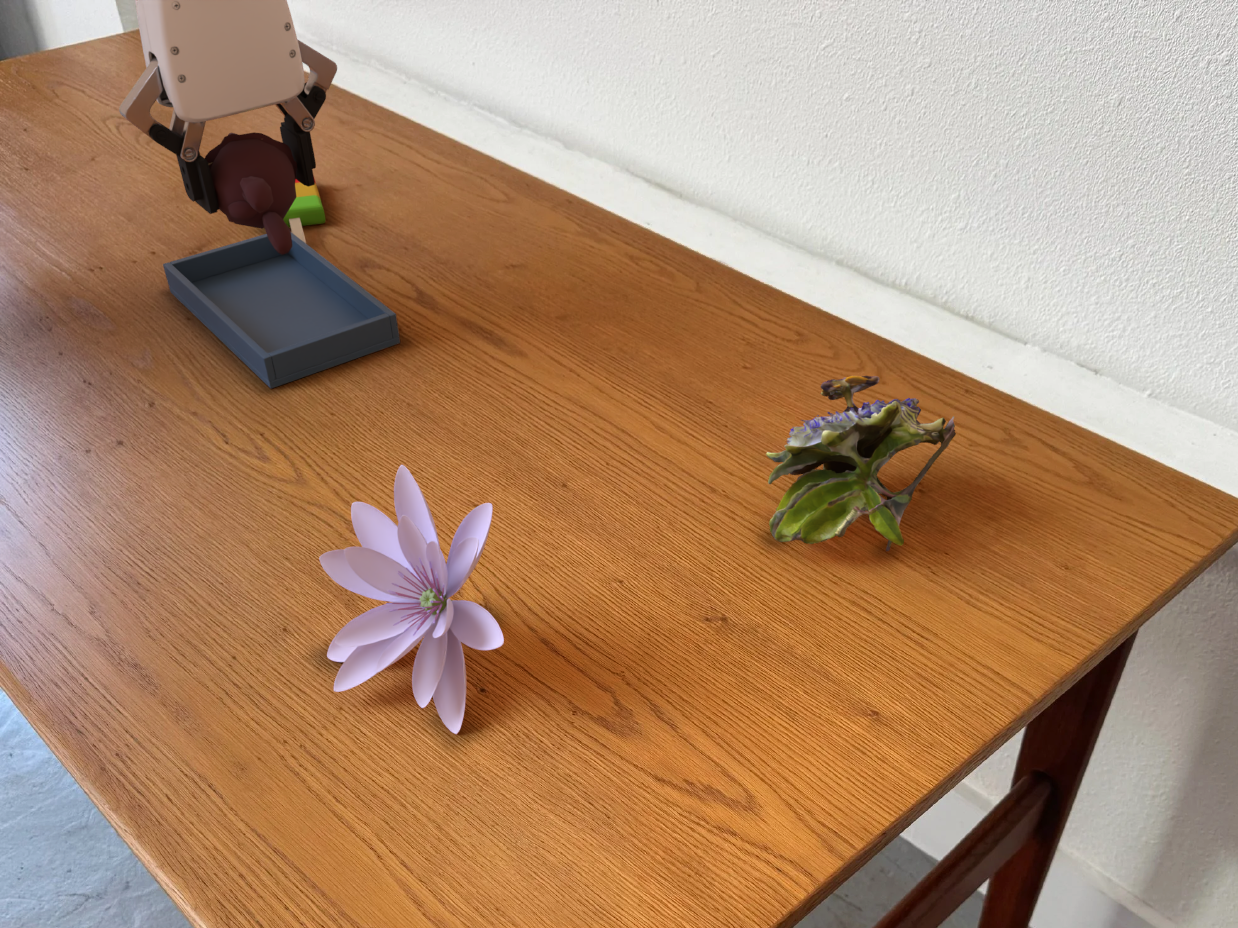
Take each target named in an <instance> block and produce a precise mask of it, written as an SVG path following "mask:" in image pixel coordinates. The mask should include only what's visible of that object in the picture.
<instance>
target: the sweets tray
mask: <svg viewBox="0 0 1238 928" xmlns="http://www.w3.org/2000/svg"><path fill="white" fill-rule="evenodd" d="M291 238H292V248H291V249H290V251H289V252H288V253H286V254H284V255H282V254H280V253H278V252H277V251H276V250H275V248H274V247H273V245H272V244H271V242H270V241H269V239H268V236H267V233H263V234H261V235H257V236H254V237H250V238H248V239H244V240H240V241H237V242H234V243H230V244H227V245H224V246H220V247H216V248H213V249H209V250H206V251H202V252H198V253H196V254H192V255H188V256H185V257H182V258H179V259H175V260H171V261H169V262H165V263H163V264H162V267H163V270H164V274H165V278H166V281H167V286H168V289H169V291H170V293H171V294H172V295H173V296H174V297H175V298H176V299H177V300H178V301H179V302H180V303H181V304H182V305H183V306H184V307H185V309H187V310H188V311H189V312H191V313H192V314H193V316H194V317H196V319H198V320H199V321H200V322H201V323H202V324H203V325H204V326H205V327H206V328H207V329H208V330H209V331H210V332H211V333H212V334H213V335H214V336H215V337H216V338H218V340H219V341H221V343H223V344H224V345H225V346H226V347H227V348H228V350H230V351H231V352H232V353H233V354H234V355H235V356H236V357H237V358H238V359H239V360H240V361H241V362H242V363H243V364H244V365H246V366H247V368H249V370H251V371H252V372H253V373H254V374H255V375H256V376H257V378H259V379H260V380H261V381H262V382H263V383H264V384H265V385H266V386H267V387H268V388H269V389H275V388H277V387H280V386H283V385H286V384H289V383H291V382H294V381H297V380H299V379H303V378H305V377H309V376H311V375H314V374H317V373H319V372H322V371H325V370H328V369H332V368H333V367H336V366H339V365H343V364H345V363H347V362H351V361H354V360H356V359H359V358H362V357H364V356H368V355H370V354H373V353H377V352H380V351H382V350H385V349H387V348H390V347H393V346H396V345H398V344H400V343H401V339H400V333H399V332H400V331H399V327H398V326H399V325H398V319H397V313H395V311H393V310H391V308H390V307H388V306H387V305H385V304H384V303H383V302H382V301H381V300H379V299H378V298H376V296H374V295H373V294H371V293H370V292H368V291H367V290H366V289H365V288H363V287H362V286H361V285H359V284H358V283H357V282H356V281H355V280H353V279H352V278H351V277H350V276H348V275H347V274H346V273H344V272H343V271H341V269H339V268H338V267H337V266H335V265H334V264H333V263H332V262H331V261H329V260H328V259H326V257H324V256H322V255H321V254H320V253H319V252H317V250H315V249H313V248H312V247H311V246H310V245H309V244H308V243H307V242H306V243H305V242H303V241H302V240H301V239H299V238H298V237H297V236H296V235H294V234H293V233H292V231H291Z"/></svg>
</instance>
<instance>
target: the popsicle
mask: <svg viewBox="0 0 1238 928" xmlns="http://www.w3.org/2000/svg"><path fill="white" fill-rule="evenodd" d="M314 181H315V184H314V185H312V186H306V185H303V184H302V183H301V182H299V181H298V180H296V179H295V188H296V199H295V200H294V202H293V204H292V205H291V207H290V209H289V210H288V212H287V214H286V215H285V217H284V219H283V220H284V222H285V223H286V224H287V226H288V227H289V229H290V230H291V232H292V233H293V234H294V235H296V236H297V237H298V238H299V239H301V240H302V241H303V242H305V243H306V244H307V241H306V237H305V233H304V229H303V227H307V226H316V225H322V224H325V223H326V214H325V210H324V206H323V202H322V199H321V196H320V192H319V189H318V186H317V183H316V178H315V177H314Z"/></svg>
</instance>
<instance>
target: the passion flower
mask: <svg viewBox="0 0 1238 928" xmlns="http://www.w3.org/2000/svg"><path fill="white" fill-rule="evenodd" d="M879 383H880V376H878V375H873V376H871V375H862V376H861V375H850V376H848V377H846V376H845V377H843V378H840V379H835V378H834V379H828V380H825V381H823V382H822V383H821V384H820V389H821V392H820V395H821V396H822V397H827V399H828V401H829V400H830V401H834V400H839V399H840V400H841V399H843V398H844V400H845V402H846V408H845V409H844V410H843V411H842V412H839V411H837V410H836V411H835V413H831V411H827V414H828V416H820V415H819V414H817V415H816V416H815V417H813V418H812V419H800V421H801V422H804V423H803V426H792V427H791V429H790V431H789V433H788V435H789V437H787V440H786V444H784V449H785V450H782V451H779V452H770V451H767V452H765V456H766V457H767V458H768V459H769V460H771V461H773V462H774V463H778V465H777V466H776V467H775V468H774V469H773V470H772V472H771V473H770V474H769V476H768V480H767V483H768V485H772V484H773V482H775V481H776V480H778V479H779V478H781V477H783V476H788V475H791V476H798V477H797V479H796V481H795V482H793V483H792V485H790V487H788V489H787V490H786V491H785V492H784V494H783V496H782V498H781V500H780V501H779V503H778V505H777V507H776V508H775V513H773V515H772V517H771V518H770V520H769V522H768V525H769V531H770V533H771V534H770V535H771V536H772V537H773V538H774V540H775V541H776V542H779V543H787V542H794V541H801V542H802V543H804V544H806V545H815V544H819V543H822V542H826V541H828V540H831V539H833V538H835V537H838V538H843V537H844V536H845V535H846V532H847V529H848V527H850V526H851V525H853V523H855V522H856V520H857V519H858V518H860V517H861V516H863V515H868V519H869V522H870V523H871V525H873V528H874V530H875V531H877V533H879V534H880V535H882V537H884V538H885V539H886V540H888V541H887V544H886V548H885V552H889V551H890V550H891V546H892V543H893V544H895V545H897V546H900V547H901V546H903V545H904V542H905V540H904V538H903V534H902V531H901V528H900V524H901V520H902V517H903V515H904V511H905V510H906V509H907V507H908V506H909V504H910V502H911V501H912V498H913V494H914V492H915V490H916V488H917V486H918V485H919V484H920V482H921V481H922V480H923V479H924V477H925V476H926V474H927V472H928V471H929V470H930V468H931V467H932V466H933V464H934V463H935V462H936V460H937V459H938V458H939V457H940V456H941V454H942V453H943V452H944V451H945V450H946V449H947V448H948V447H949V445H950V444H951V441H952V440H953V439H954V437H956V435H957V433H956V430H955V427H956V424H955V422H954V419H955V416H954V415H953V416H952V417H951V419H950V420H949V421H948V422H947V421H946V419H945V417H941V418H938V419H937V420H935V421H933V422H928V423H927V422H926V423H923V422H920V421H919V420H917V419H918V418H919V415H920V413H921V412H922V408H920V407H919V406H917V405H919V403H920V400H919V399H918V398H916V397H914V398H913V397H912V398H911V397H908V398H906V399H904V400H902V401H901V400H900V399H899V398H894V399H892V400H891V401H889V402H888V403H886V402H885V400H879V399H876V400H875V402H874V403H872V404H871V403H870V401H866V402H865V401H864V402H862V405H861V407H858V406H857V405H856V404H855V402H854V399H853V398H854V394H855V393H860V392H863V391H865V390H867V389H869V388H872V387H874V386H876V385H877V384H879ZM945 424H946V426H945ZM944 426H945V427H944ZM922 443H924V444H925V443H926V444H931V445H934V446H937V445H938V444H939V443H940V446H939V448H938V449H937V450H936V451H935V452H934V453H932V456H931V457H930V458H929V459H928V461H927V462H926V464H925V465H924V467H923V468H922V469H921V470H920V471H919V473H918V474H917V475H916V477H915V478H914V480H913V481H912V482H911V483H910V484H909V485H907V486H906V487H905V488H903V489H901V490H899V491H891V490H890V489H888V488H887V487H886V486H885V485H884V484H883V482H882V481H881V480H880V479H879V477H878V474H879V472H880V470H881V468H883V466H885V465H886V464H887V463H888V462H889V461H890V460H891V459H892V458H893V457H895V455H896V454H898V453H899V452H901V451H904V450H907V449H909V448H911V447H915V446H919V445H920V444H922ZM779 463H780V464H779ZM821 466H822V469H821V468H819V467H821ZM881 495H882V496H881ZM884 497H885V498H886V499H885V498H884Z"/></svg>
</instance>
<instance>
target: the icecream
mask: <svg viewBox="0 0 1238 928" xmlns="http://www.w3.org/2000/svg"><path fill="white" fill-rule="evenodd" d="M204 158H205V159H206V160H207V162H208V165H209V169H210V173H211V177H212V181H213V185H214V189H215V194H216V198H217V202H218V206H219V210H218V211H220V212H221V213H223V214H224V215H225V216H226V218H227V220H228V222H230V223H233V224H235V225H240V226H245V227H250V228H256V229H262V230H263V229H264V231H265V234H267V236H268V239H269V241H270V242H271V244H272V245H273V247H274V248H275V250H276V251H277V252H278V253H280V254H282V255H284V254H286V253H288V252H289V251H290V249H291V248H292V238H291V232H292V230H291V228H289V227H288V226H287V224H286V223H285V222H284V220H283V219H284V217H285V215H286V214H287V212H288V210H289V209H290V207H291V205H292V204H293V202H294V200H295V199H296V188H295V178H296V171H297V163H296V162H295V160H294V159H293V156H292V152H291V149H290V148H289V146H288V145H286V144H284V143H283V142H282V141H279V140H276V139H274V138H273V137H271V136H269V135H266V134H264V133H262V132H256V131H255V132H249V133H248V132H247V133H240V134H238V133H235V132H229V133H228V134H227V135H225V136H224V137H223V138H222V140H221V142H220V143H218V145H216V146H215V147H213V148H212V149H210V150H209V151H208V152H207V154H206V155H205V156H204Z"/></svg>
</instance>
